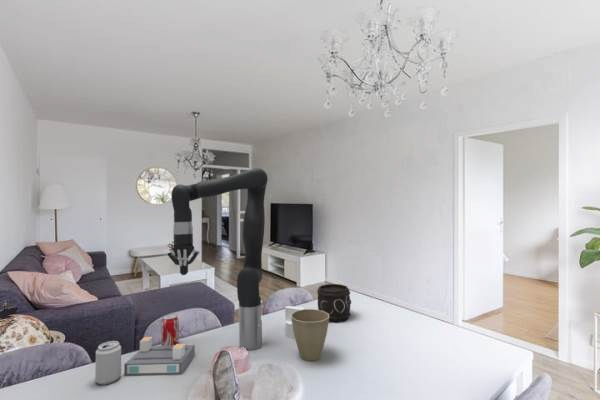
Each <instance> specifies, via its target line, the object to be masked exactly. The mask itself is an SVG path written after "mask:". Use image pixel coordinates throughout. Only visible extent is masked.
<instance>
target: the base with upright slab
mask: <svg viewBox="0 0 600 400" xmlns="http://www.w3.org/2000/svg"><path fill="white" fill-rule="evenodd" d="M304 309H306V308H305V307H300V306H292V305H290V306H289V305H287V306H285V309H284V311H285V313H284V315H285V316H284V317H285V319H284V321H285V325H284V327H285V337H287V338H290V339H295V336H294V331H293V326H292V319H291V314H292V313H294V312H296V311H299V310H304Z"/></svg>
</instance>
